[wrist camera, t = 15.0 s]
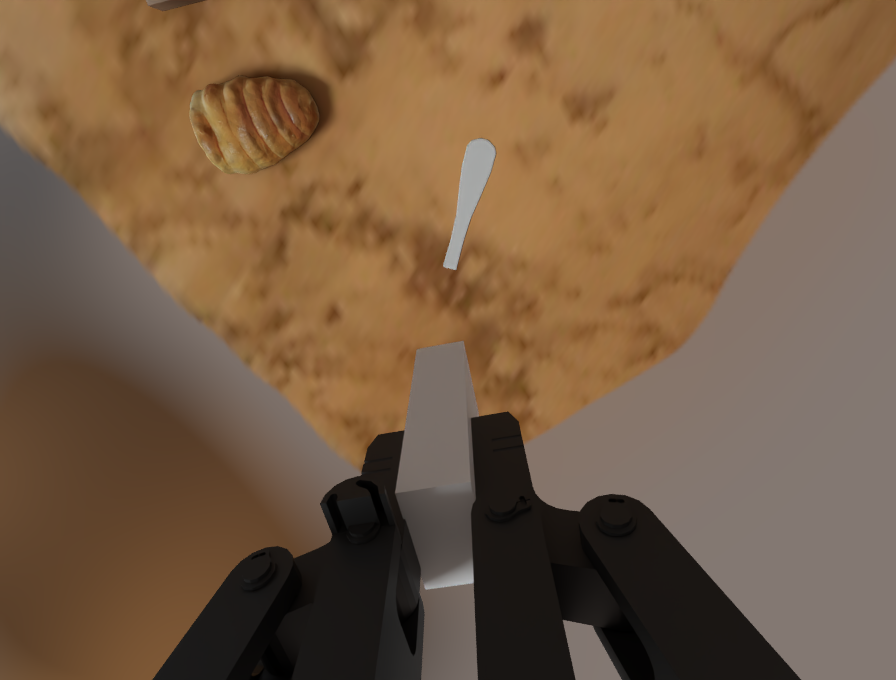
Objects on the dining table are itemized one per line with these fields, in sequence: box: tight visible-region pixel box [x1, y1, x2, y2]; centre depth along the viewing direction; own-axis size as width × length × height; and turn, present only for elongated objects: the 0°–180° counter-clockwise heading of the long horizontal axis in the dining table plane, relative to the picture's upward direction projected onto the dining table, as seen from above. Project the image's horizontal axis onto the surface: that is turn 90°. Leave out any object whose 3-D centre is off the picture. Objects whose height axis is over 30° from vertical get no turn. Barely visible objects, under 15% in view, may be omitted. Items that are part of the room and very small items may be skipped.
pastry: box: [189, 76, 319, 174], centre depth 38 cm, size 9×7×4 cm
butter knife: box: [443, 138, 496, 270], centre depth 45 cm, size 1×24×3 cm
